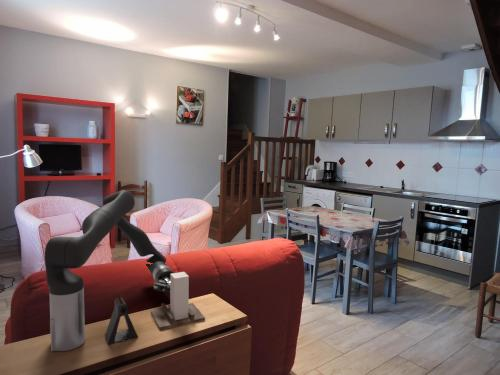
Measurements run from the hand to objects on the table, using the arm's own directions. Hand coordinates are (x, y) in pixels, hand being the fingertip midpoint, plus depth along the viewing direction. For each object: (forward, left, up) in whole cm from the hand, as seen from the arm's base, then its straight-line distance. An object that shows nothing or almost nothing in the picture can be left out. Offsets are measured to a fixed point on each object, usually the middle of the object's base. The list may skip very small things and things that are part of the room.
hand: (177, 292), depth 127 cm
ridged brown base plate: (0, 0, -9) cm, 9 cm away
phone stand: (-20, -6, -9) cm, 23 cm away
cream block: (0, -3, -8) cm, 8 cm away
